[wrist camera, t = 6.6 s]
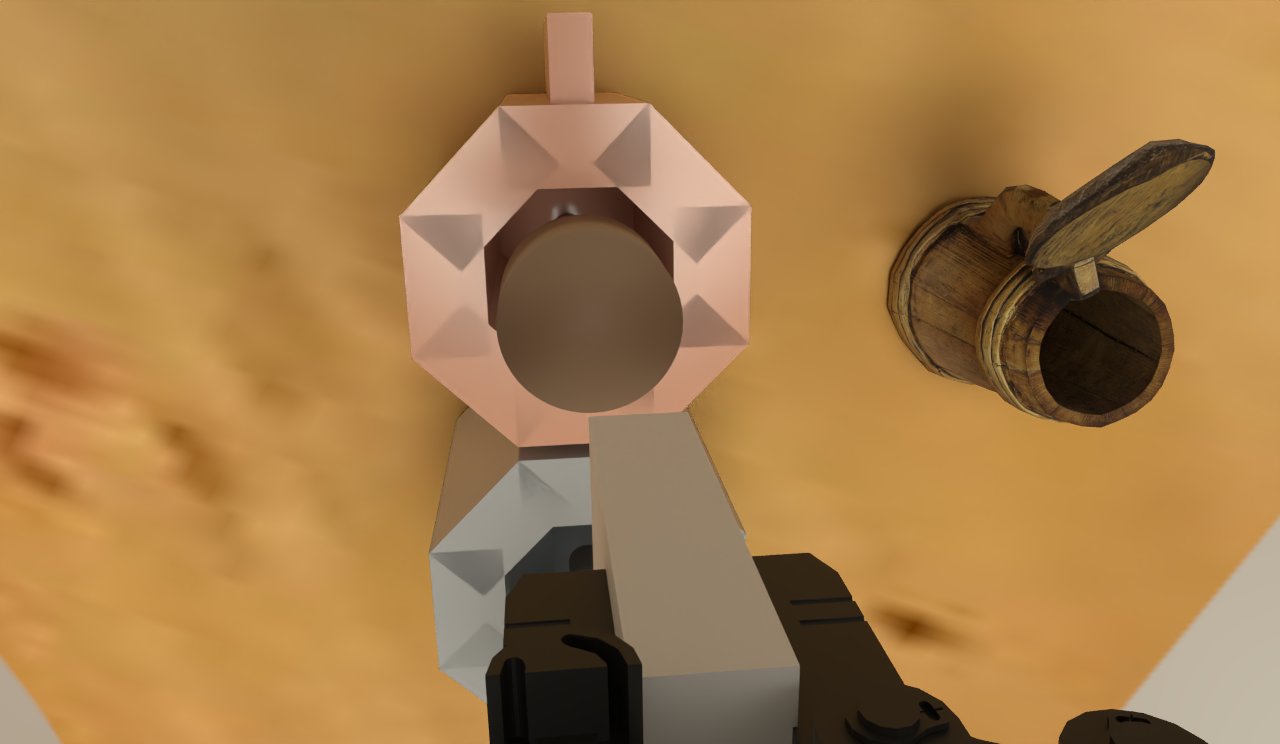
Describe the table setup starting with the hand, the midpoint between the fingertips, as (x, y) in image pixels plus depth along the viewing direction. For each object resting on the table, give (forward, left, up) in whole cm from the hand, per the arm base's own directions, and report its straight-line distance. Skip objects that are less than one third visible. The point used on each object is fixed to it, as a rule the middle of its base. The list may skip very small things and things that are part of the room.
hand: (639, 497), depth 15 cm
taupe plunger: (0, 0, -28) cm, 28 cm away
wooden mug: (+2, +19, -32) cm, 37 cm away
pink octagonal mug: (-1, 0, -31) cm, 31 cm away
